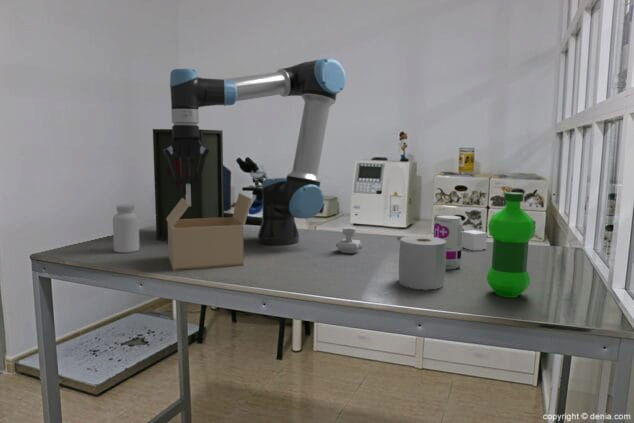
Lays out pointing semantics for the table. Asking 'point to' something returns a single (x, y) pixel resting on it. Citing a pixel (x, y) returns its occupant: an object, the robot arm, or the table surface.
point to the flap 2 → (242, 208)
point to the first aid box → (206, 190)
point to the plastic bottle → (510, 247)
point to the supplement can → (450, 238)
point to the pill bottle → (126, 229)
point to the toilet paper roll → (422, 262)
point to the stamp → (349, 241)
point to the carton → (205, 243)
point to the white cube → (474, 240)
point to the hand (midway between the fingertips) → (188, 205)
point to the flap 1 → (177, 212)
